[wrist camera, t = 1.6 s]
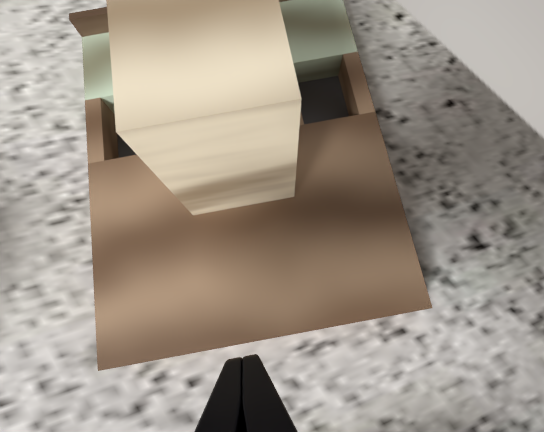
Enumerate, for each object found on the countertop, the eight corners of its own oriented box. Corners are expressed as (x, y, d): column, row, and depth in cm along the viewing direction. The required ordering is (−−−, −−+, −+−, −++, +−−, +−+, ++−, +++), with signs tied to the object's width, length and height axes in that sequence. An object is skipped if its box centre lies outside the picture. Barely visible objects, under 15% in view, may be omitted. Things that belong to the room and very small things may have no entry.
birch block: (294, 196, 21) (301, 98, 12) (193, 215, 21) (115, 131, 12) (275, 107, 23) (268, -44, 13) (181, 124, 23) (105, -15, 13)
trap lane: (416, 308, 22) (444, 307, 18) (118, 364, 22) (82, 375, 18) (334, 14, 28) (341, -35, 24) (99, 56, 27) (69, 13, 24)
